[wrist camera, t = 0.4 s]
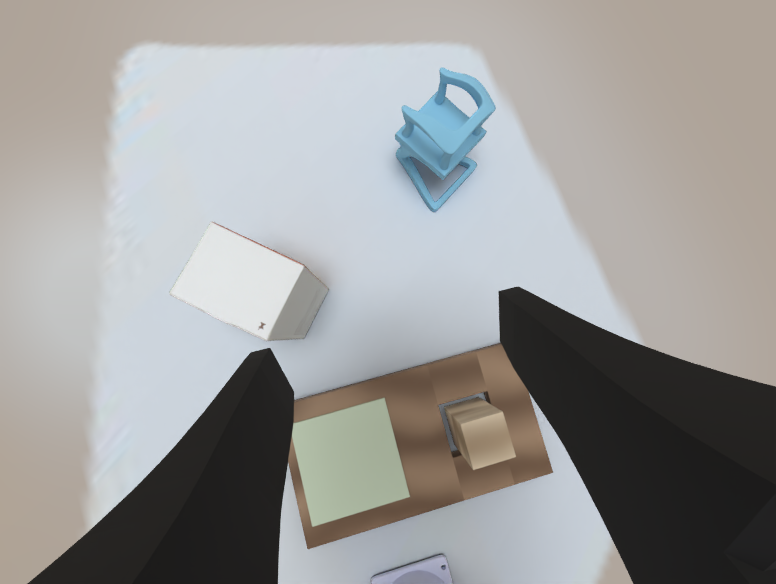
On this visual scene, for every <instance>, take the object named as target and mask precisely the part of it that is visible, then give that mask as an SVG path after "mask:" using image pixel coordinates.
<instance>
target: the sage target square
mask: <svg viewBox="0 0 776 584" xmlns="http://www.w3.org/2000/svg"><path fill="white" fill-rule="evenodd" d="M292 439H293V443H294V447H295V452H296V456H297V461H298V465H299V470H300V474H301V479H302V483H303V488H304V492H305V496H306V501H307V505H308V510H309V514H310V519H311V523H312V527H314V526H317V525H320V524H324V523H327V522H330V521H333V520H336V519H340V518H343V517H346V516H349V515H353V514H356V513H359V512H362V511H366V510H369V509H372V508H375V507H379V506H382V505H385V504H388V503H392V502H395V501H398V500H401V499H405V498H408V497H410V495H409V491H408V487H407V483H406V479H405V475H404V471H403V468H402V464H401V460H400V456H399V452H398V448H397V444H396V440H395V436H394V433H393V429H392V425H391V421H390V417H389V413H388V409H387V405H386V402H385V398H381V399H377V400H374V401H370V402H366V403H363V404H359V405H356V406H352V407H349V408H345V409H342V410H338V411H335V412H331V413H328V414H324V415H321V416H317V417H314V418H310V419H306V420H303V421H299V422H296V423H293V431H292Z"/></svg>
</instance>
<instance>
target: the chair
mask: <svg viewBox="0 0 776 584" xmlns="http://www.w3.org/2000/svg"><path fill="white" fill-rule="evenodd" d="M447 84H452V85H455V86H458V87H460V88H462V89H464V90H465V91H467V92H468V93H469V94H470V95H471V96H472V98H473V99H474V100H475V102H476V104H477V106H478V110H477V111H476V112H475V113H474V114H473V115H472V116H471V117H470V118H469V117H468V116H467V115H465V114H464V113H463V112H462V111H461V110H460V109H458V108H457V107H456V106H455V105H454V104H453V103H452V102H451V101H450V100H449V99H447V98H446V97H445V94H446V87H447ZM495 109H496V107H495V105H494V103H493V101H492V99H491V98H490V96H489V94H488V92H487V91H486V89H485V88H484V87H483V85H482V84H481V83H480V82H479V81H478V80H477V79H476V78H473V77H471V76H469V75H466V74H461V73H456V72H452V71H449V70H447V69H445V68H440V84H439V89H438V91H437V92H436V93H435V94H434V95H433V96H432V97H431V98H430V99H429V101H428V102H427V103H426V104H425V105H424V106H423V107H422V108H421V109H420V110H419V111H415V110H413V109H411V108H410V107H408V106H406V105H404V106H402V112H403V117H404V120H405V122H406V124H405V125H404V126H403V127H402V128H401V129H400V130H399V131H398V132H397V133H396V135H395V139H396V140H397V141H398V142H399V143H400V145H401V147H400V148H399V149H398V150H397V152H396V157H397V158H398V160H399V161H400V162H401V164H402V165H403V167H404V168H405V170H406V171H407V173H408V174H409V176H410V178H411V179H412V181H413V183H414V185H415V186H416V188H417V190H418V191H419V193H420V195H421V197H422V198H423V200H424V201H425V203H426V205H427V206H428V207H429V209H430V210H431V211H433V212H435V211H437V210H438V209H439V208H440V207H441V205H442V204H443V203H444V202H445V201H446V200H447V199H448V198H449V197H450V196H451V195H452V194H453V192H454V191H455V190H456V189H457V188H458V187H459V186H460V185H461V184H462V183H463V182H464V180H465V179H466V178H467V177H468V176H469V175H470V174H471V173H472V172H473V171H474V169H475V168H476V166H477V164H476V162H474V161H473V160H471V159H469V158H468V157H465V156H466V155H467V154H468V153H469V152H470V151H471V150H472V149H473V148H474V147H475V146H476V145H477V143H478V142H479V141H480V140H481V139H482V138H483V137H484V136H485V134H486V132H487V131H486V130H484V129H483V128H482V127H481V125H482V124H483V123H484V122H485V121H486V120H487V119H488V117H489V116H490V115H491V114H492V113H493V112H494V111H495ZM409 156H411V157H414V158H416V159H417V160H419V161H421V162H422V163H423V164H425V165H426V166H428V167H429V168H430V169H431V170H432V171H433V172H434V173H435V174H436V175H438V176H439V177H440V178H441V179H442V180H444V179H445V178H446V176H447V175H448V174H449V173H450V172H451V171H452V170H453V169H454V168H455V167H456V166H457V164H460V165H462V166H465V167H467V168H468V169H467V170H466V171H465V172H464V173H463V174H462V175H461V177H460V178H459V179H458V180H457V181H456V182H455V183H454V184H453V185H452V186H451V187H450V188H449V189H448V190H447V191H446V192H445V193H444V194H443V195H442V196H441V197H440V198H439V200H438V201H436V202H435V201H434V200H433V199H432V197H431V195H430V193H429V191H428V189H427V188H426V186H425V184H424V182H423V180H422V178H421V176H420V174H419V172H418V170H417V169H416V167H415V165H414V163H413V161H412V160H411V158H410V157H409Z"/></svg>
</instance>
